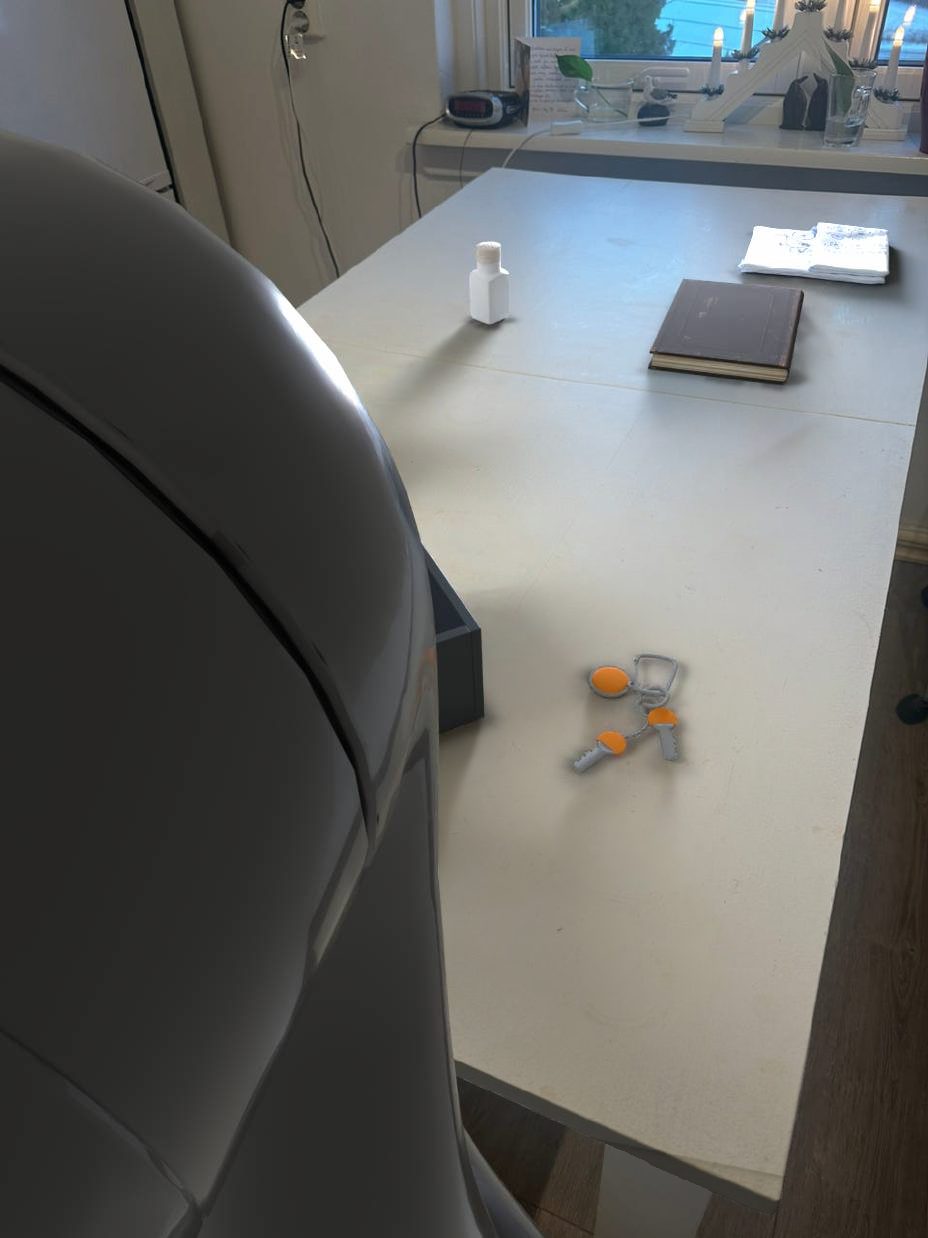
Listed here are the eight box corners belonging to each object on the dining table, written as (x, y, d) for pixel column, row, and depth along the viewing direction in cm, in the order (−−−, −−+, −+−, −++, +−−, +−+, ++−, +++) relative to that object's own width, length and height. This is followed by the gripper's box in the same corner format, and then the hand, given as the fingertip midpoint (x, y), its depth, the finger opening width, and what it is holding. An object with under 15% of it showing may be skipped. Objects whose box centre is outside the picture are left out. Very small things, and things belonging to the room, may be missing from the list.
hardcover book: (647, 368, 105) (649, 350, 103) (680, 294, 121) (682, 278, 119) (786, 385, 100) (790, 366, 99) (801, 306, 116) (805, 289, 114)
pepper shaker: (468, 318, 118) (466, 246, 111) (490, 309, 120) (488, 237, 113) (489, 326, 115) (487, 253, 109) (510, 317, 117) (510, 244, 111)
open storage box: (295, 786, 61) (270, 698, 55) (246, 654, 71) (221, 568, 65) (485, 717, 65) (481, 628, 59) (413, 601, 75) (404, 515, 69)
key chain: (596, 648, 69) (597, 640, 69) (690, 663, 68) (692, 655, 67) (565, 772, 60) (566, 765, 60) (672, 794, 59) (674, 786, 58)
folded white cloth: (885, 287, 119) (890, 271, 118) (734, 274, 125) (737, 258, 124) (888, 240, 132) (892, 225, 131) (751, 229, 138) (754, 215, 137)
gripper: (439, 838, 40) (328, 616, 51) (114, 967, 36) (74, 694, 47) (447, 923, 45) (344, 703, 56) (163, 1045, 41) (116, 780, 52)
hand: (221, 700), depth 52 cm, fingers closed on energy drink, 5 cm apart
